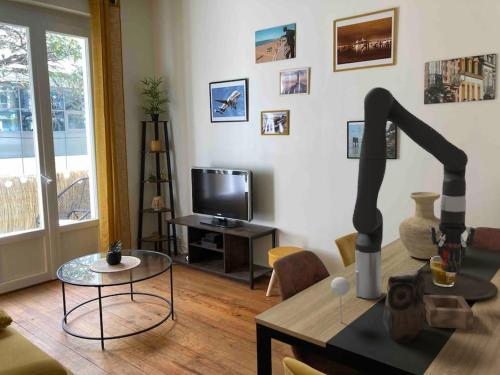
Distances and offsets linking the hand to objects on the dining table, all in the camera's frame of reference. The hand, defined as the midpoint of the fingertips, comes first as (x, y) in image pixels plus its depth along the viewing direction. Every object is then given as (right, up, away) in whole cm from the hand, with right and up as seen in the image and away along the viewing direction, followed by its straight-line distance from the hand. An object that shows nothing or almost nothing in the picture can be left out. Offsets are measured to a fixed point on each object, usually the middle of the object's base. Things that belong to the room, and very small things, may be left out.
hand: (450, 256), depth 141 cm
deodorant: (0, -5, +1) cm, 5 cm away
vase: (+14, -9, +54) cm, 57 cm away
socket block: (-6, -19, -9) cm, 21 cm away
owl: (-22, -20, -15) cm, 34 cm away
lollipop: (-39, -20, -7) cm, 45 cm away
